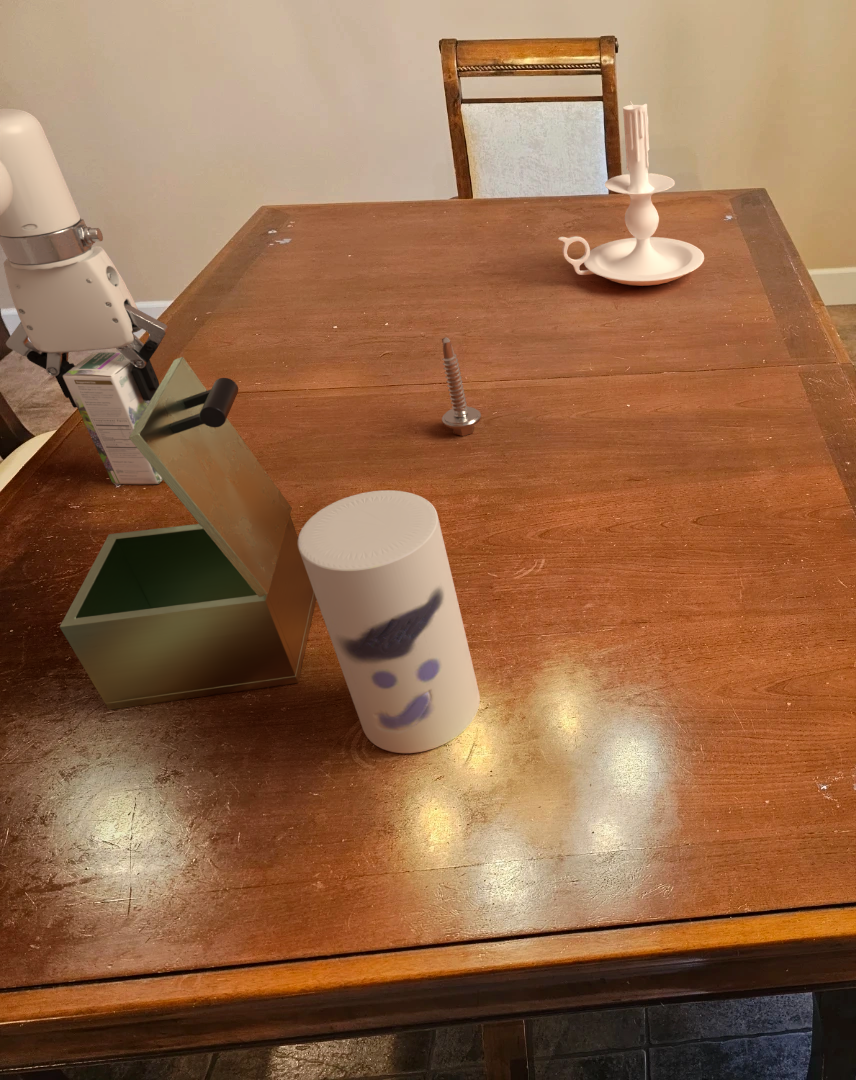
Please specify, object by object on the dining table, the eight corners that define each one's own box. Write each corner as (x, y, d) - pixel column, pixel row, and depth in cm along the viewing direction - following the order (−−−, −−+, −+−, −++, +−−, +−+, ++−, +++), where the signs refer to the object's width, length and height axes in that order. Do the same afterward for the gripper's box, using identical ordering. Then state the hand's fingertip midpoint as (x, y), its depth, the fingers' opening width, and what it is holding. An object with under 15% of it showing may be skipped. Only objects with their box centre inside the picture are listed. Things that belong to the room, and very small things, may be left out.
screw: (467, 444, 116) (437, 435, 118) (491, 426, 120) (461, 418, 121) (448, 348, 108) (416, 341, 110) (474, 332, 112) (442, 325, 113)
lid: (128, 437, 67) (193, 415, 67) (174, 359, 77) (230, 339, 77) (259, 597, 77) (315, 578, 77) (284, 510, 87) (334, 493, 87)
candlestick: (548, 267, 163) (527, 95, 146) (679, 247, 171) (674, 82, 154) (580, 311, 148) (561, 125, 131) (722, 287, 156) (722, 108, 139)
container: (386, 774, 75) (321, 586, 63) (346, 700, 82) (279, 517, 69) (499, 718, 80) (458, 534, 68) (452, 653, 86) (408, 473, 74)
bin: (108, 710, 81) (59, 626, 75) (149, 614, 91) (108, 534, 85) (298, 683, 83) (265, 600, 77) (317, 592, 93) (289, 513, 87)
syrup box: (138, 459, 114) (88, 350, 105) (185, 459, 113) (139, 351, 105) (112, 485, 109) (57, 373, 100) (161, 485, 109) (110, 374, 100)
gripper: (148, 225, 99) (205, 376, 109) (-32, 237, 96) (45, 390, 107) (127, 249, 93) (190, 406, 104) (-65, 263, 90) (20, 423, 101)
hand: (116, 397), depth 105 cm, fingers closed on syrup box, 6 cm apart
